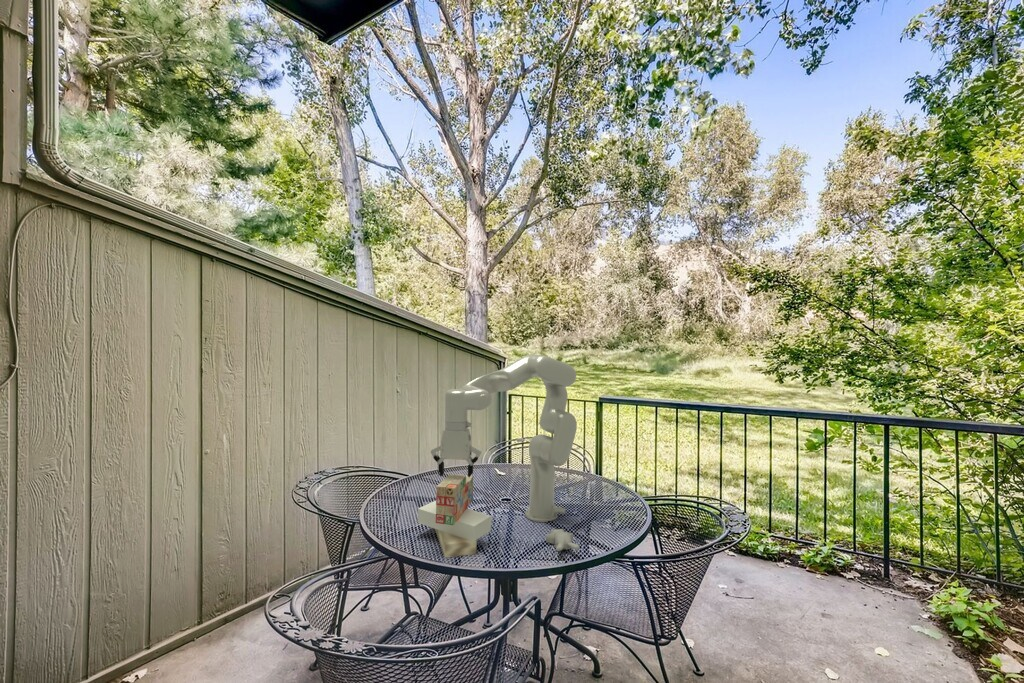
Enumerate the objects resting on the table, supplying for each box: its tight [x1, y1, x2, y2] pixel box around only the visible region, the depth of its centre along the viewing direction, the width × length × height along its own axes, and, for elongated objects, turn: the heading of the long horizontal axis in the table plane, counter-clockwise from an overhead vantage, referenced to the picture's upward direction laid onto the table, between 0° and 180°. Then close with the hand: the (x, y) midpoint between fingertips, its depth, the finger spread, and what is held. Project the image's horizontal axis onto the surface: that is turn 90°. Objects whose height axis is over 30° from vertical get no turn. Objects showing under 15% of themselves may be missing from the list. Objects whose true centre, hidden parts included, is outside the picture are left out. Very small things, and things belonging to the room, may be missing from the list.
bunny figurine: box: [545, 528, 581, 552], centre depth 150 cm, size 10×5×15 cm
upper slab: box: [417, 500, 493, 542], centre depth 154 cm, size 10×24×5 cm, turn 59°
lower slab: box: [434, 529, 478, 559], centre depth 154 cm, size 10×24×5 cm, turn 19°
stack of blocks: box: [435, 473, 474, 525], centre depth 154 cm, size 21×6×12 cm, turn 168°
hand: (455, 475), depth 154 cm, fingers open, 9 cm apart
